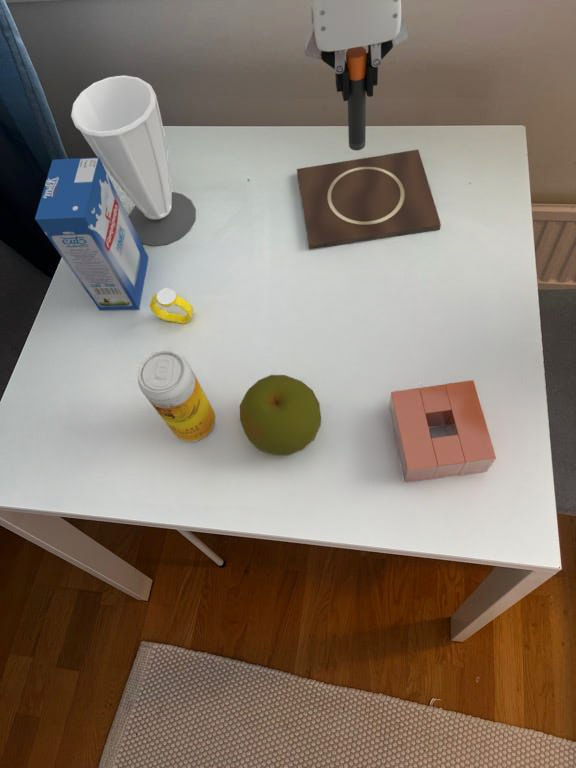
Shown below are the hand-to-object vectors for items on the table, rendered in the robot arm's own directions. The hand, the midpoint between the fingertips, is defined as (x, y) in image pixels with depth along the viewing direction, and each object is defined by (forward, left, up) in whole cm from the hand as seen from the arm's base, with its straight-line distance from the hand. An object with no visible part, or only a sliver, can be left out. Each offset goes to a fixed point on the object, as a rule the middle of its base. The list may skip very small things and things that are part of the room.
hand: (356, 90), depth 76 cm
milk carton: (+38, +11, -19) cm, 43 cm away
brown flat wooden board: (-1, +2, -18) cm, 19 cm away
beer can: (+28, +36, -19) cm, 49 cm away
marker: (0, 0, -9) cm, 9 cm away
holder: (-3, +43, -18) cm, 47 cm away
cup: (+32, -1, -19) cm, 37 cm away
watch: (+30, +19, -19) cm, 40 cm away
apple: (+16, +39, -19) cm, 46 cm away
